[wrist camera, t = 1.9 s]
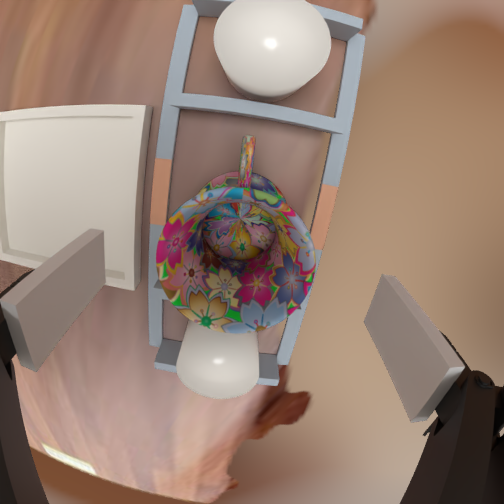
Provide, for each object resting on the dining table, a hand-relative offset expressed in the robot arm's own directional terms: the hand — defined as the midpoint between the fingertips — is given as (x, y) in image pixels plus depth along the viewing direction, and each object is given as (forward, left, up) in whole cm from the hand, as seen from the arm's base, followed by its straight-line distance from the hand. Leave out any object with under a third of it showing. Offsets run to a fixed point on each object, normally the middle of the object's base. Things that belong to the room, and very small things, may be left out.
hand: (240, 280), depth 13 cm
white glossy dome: (0, +13, -14) cm, 19 cm away
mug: (0, 0, -14) cm, 14 cm away
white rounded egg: (0, -12, -14) cm, 19 cm away
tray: (-19, -1, -14) cm, 23 cm away
